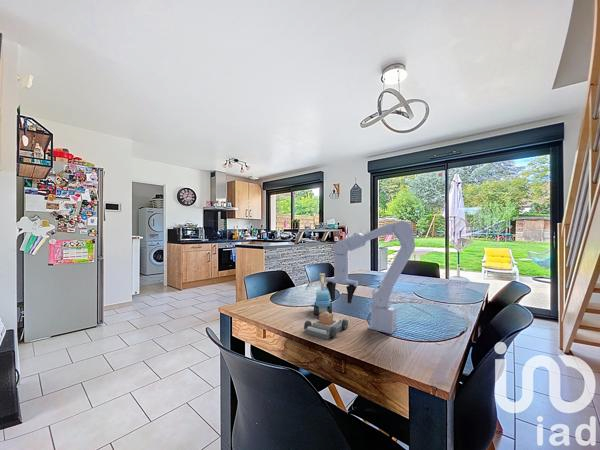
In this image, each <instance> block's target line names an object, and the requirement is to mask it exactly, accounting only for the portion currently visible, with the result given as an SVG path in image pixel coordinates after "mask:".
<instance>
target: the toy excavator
mask: <svg viewBox="0 0 600 450" xmlns="http://www.w3.org/2000/svg"><path fill="white" fill-rule="evenodd" d="M318 275H319V276H318V277H319V280H318V282H319V283H320V289H321V290H317V291H316V295H315V302H314V305H313V315H314V316H315V315H316V316H318V315H319V314H322V313H324V312H329V313H331V314H333V303H332V302H331V297H330V293H329V290H325V283H326V282H325V278H326V273H319V274H318Z"/></svg>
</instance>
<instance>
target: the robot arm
mask: <svg viewBox="0 0 600 450" xmlns="http://www.w3.org/2000/svg"><path fill="white" fill-rule="evenodd" d="M385 235H388V236H394V235H395V237H396V238H397V239H398V243H399V245H400V248H399V250H398V252H397V253H396V255H395V257H394V259H393V260H392V262H391V264H390V266H389V268H388V270H387V271H386V273H385V275H384V277H383V279H382V280H381V281H380V282H379V284H378V286H377V287H375V288H374V289H373V290H372V297H371V300H372V302H371V303H370V308H371V309H370V313H371V314H370V317H371V318H370V319H371V320H370V324H369V325H368V326H367V329H368V330H373V331H378V332H383V333H386V334H391V335H392V334H393V333H394V332H395V331H396V329H397V328H398V327H397V309H396V308H394V307H392V306H391V304H390V296H391V294H392V292H393V288H394V286H395V285H396V283H397V281H398V279H399V277H400V275H401V273H402V272H403V271H404V268H405V267H406V265H407V263H408V262H409V260H410V258H411V256H412V255H413V253H414V251H415V249H416V244H415V243H416V242H415V236H414V235H415V232H414V229H413V227H412V225H411V224H410V222H408V221H405V220H400V221H397V222H393V223H389V224H385V225H382V226H379V227H378V228H376V229H373V230H371V231H368V232H366V233H365V234H363V233H361V232H354V233H353V235H351V236H347V237H343V238H342V239H340V240H338V241H336V242H335V243H334V244H333V251H334V258H333V259H334V263H333V265H334V266H333V268H334V269H333V272H334V274H333V277H326V276H325V283H326V284H325V286H326V289H327V291H329V297H330V301H335V300H336V286H337V284H338V285H346V287H345V288H346V292H347V304H351V303H352V300H353V296H354V293H355V291H356V290H357V287H358V286H359V280H355V279H354V280H353V279H349V258H348V252H352V251H354V250H357V249H360V248H362V247H364V246H366V244H367V242H368V241H370V240H373V239H376V238H380V237H382V236H385Z"/></svg>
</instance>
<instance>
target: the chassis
mask: <svg viewBox="0 0 600 450" xmlns="http://www.w3.org/2000/svg"><path fill="white" fill-rule="evenodd" d="M320 314H321V313H318V315H317V319H316V320H315V321H313V322H311V320H305V322H304V324H303V329H304V334H306V333H307V334H306V335H311V336H314V337H317V338H321V339H325V340H329V339H331V338H334V339H335V338H336V336H337V334H338V333H339V332H340V331H342V330H347V329H348V328H349V321H348V319H345V318H343V319H341V318H337V317H333V324H332V325H330V326H329V325H324V324H320V323H319V315H320ZM312 323H313V324H312Z"/></svg>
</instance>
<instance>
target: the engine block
mask: <svg viewBox="0 0 600 450" xmlns="http://www.w3.org/2000/svg"><path fill="white" fill-rule="evenodd" d="M319 314H320V315H319ZM319 314H318V315H319V323H320V324H324V325H329V326H330V325H332V324H333V318H334V313H332V314H331V313H329V312H324V313H319Z"/></svg>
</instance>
